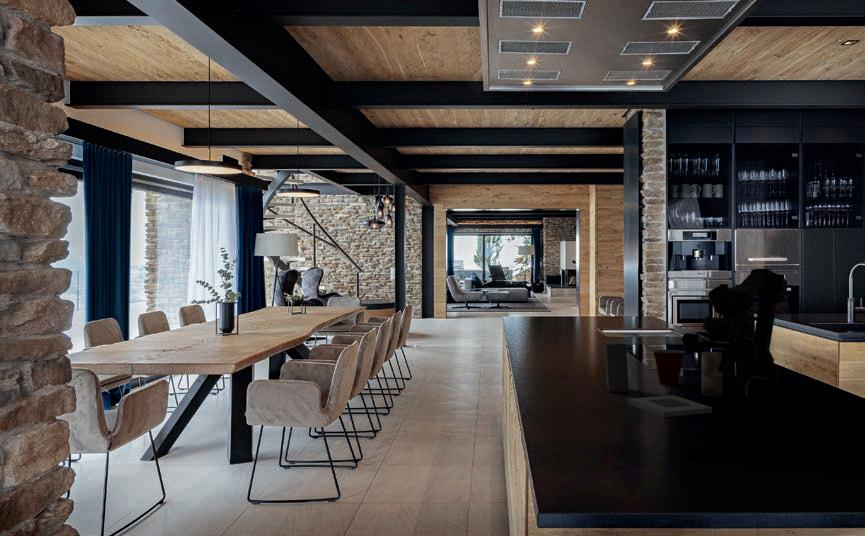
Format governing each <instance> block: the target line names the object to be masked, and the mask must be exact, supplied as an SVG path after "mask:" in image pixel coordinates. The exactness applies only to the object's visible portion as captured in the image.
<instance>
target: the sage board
mask: <svg viewBox="0 0 865 536" xmlns="http://www.w3.org/2000/svg"><path fill="white" fill-rule="evenodd" d="M627 404H628V405H631V406H633V407H635V408H638V409H640V410H644V411H647V412H649V413H651V414H654V415H655V416H656V415H657V416H659V417H662V418H672V417H673V418H674V417H683V416H684V417H685V416H692V415H693V416H694V415H695V416H696V415H705V414H706V415H707V414H713V407H712V406H709V405H705V404H702V403H698V402H696V401H693V400H689V399H687V398H683V397H681V396H677V395H672V394H671V395H662V396H661V395H659V396H649V397H647V396H646V397H635V398H634V397H633V398H628V402H627Z"/></svg>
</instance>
